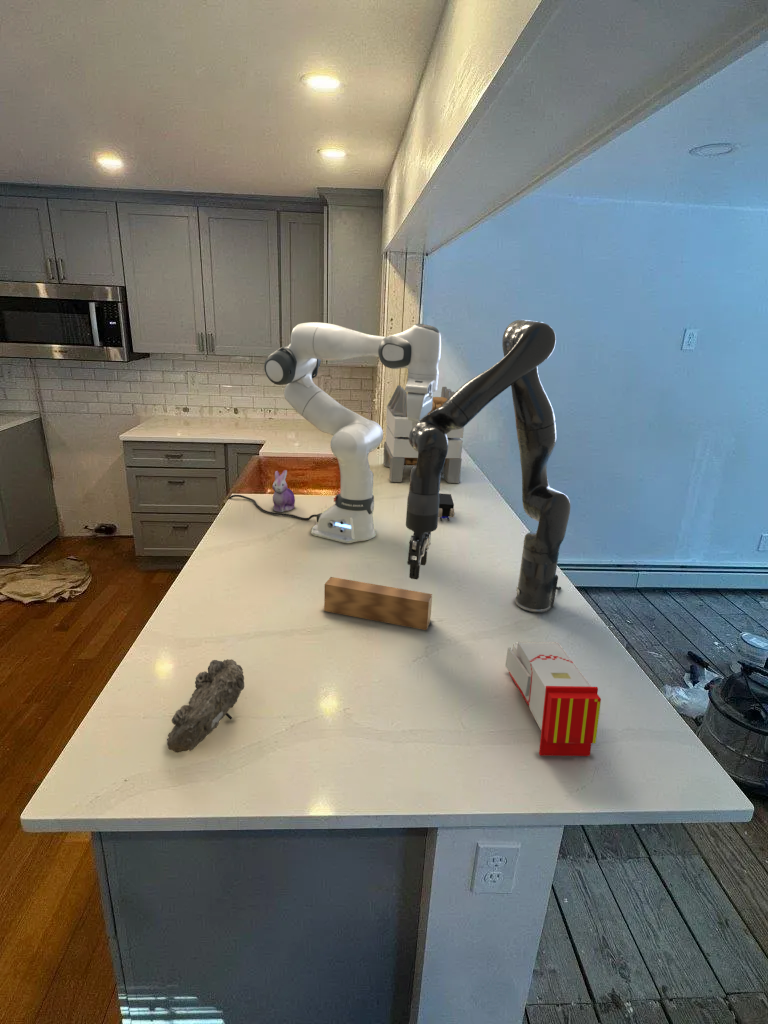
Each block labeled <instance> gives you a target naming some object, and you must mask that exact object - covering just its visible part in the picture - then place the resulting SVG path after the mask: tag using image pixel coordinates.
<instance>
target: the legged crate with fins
mask: <svg viewBox="0 0 768 1024" xmlns="http://www.w3.org/2000/svg"><path fill="white" fill-rule="evenodd" d="M455 392H456V391H453V390H452V389H451V388H447V386H442V387H441V392H440V393H441V394H440V396H433V403H432V410H431V411H430V412H429V413H431V412H432V411H434V410H436V409H437V408H439V407H440V406H442V405H443V404H444V403H445V402H446V401H447V400H448V399H449V398H450V397H451V396H452V395H453V394H454V393H455ZM407 393H408V392H405V389H404V388H403V387H402V385H399V384H398V385H397V386H396V388H395V390H394V392H393V394H392V395H391V398H390V400H389V402H388V404H387V405H386V413H385V414H386V415H385V423H386V428H385V438H384V442H383V466H384V467H388V468H389V475H388V476H389V477H388V478H389V480H390V482H391V483H402V482H403V475H404V469H405V466H406V467H407V466H411V467H413V466H415V465H417V459H418V452H417V451H416V450H414V449H413V448H412V447H411V445H410V443H409V434H410V432H411V430H412V423H411V422H412V420H408V419H407ZM429 413H428V414H429ZM428 414H427V415H428ZM464 429H465V426H464V427H463V428H461V429H457V430H452V431H450V432H449V433H447V434H446V436H447V439H448V452H447V456H446V459H445V463H444V466H443V469H442V472H441V475H443V478H444V479H445V481H446V482H447V483H449V484H455V483H456V484H459V483H461V472H462V461H463V460H462V453H463V442H464V441H463V440H462V439H463V438H464V431H465V430H464Z"/></svg>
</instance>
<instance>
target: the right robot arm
mask: <svg viewBox="0 0 768 1024" xmlns="http://www.w3.org/2000/svg"><path fill="white" fill-rule="evenodd" d="M501 343H502V353H503V358H501V359H500V360H499V361H497V363H495V364H494V365H493V366H491V367H489V368H488V369H486V370H484V371H483V372H481V373H479V374H477V375H476V376H474V377H473V378H471V379H469V380H468V381H466V382H465V383H463V385H461V386H460V387H459V388H458V389H457V390H456V391H454V392H455V393H454V394H453V395H452V396H451V397H450V398H449V399H448V400H447V401H446V402H445V403H444V404H443V405H442V406H440V407H439V408H437V409H436V410H434V411H432V412H431V413H429V414H428V415H426V416H425V417H424V418H422V419H421V420H420V421H418V422H417V423H416V424H415V425H414V427H413V428H412V430H411V432H410V434H409V443H410V445H411V447H412V448H413V449H414V450H416V451H417V452H418V459H417V465H415V466H412V467H411V470H410V474H409V487H408V494H407V499H406V500H407V501H406V514H405V526H406V528H407V529H408V530H409V531H412V533H413V534H412V535H411V536H410V540H409V541H408V553H407V561H406V563H407V565H409V575H408V578H410V579H411V580H419V578H420V568H421V566H426V565H427V561H428V552H429V549H430V545H431V539H432V537H431V536H432V532H434V531H436V530H437V529H438V526H439V525H438V523H439V517H438V514H439V501H440V500H439V493H440V487H441V475H442V474H441V472H442V469H443V466H444V463H445V459H446V456H447V452H448V439H447V436H446V434H447V433H449V432H450V431H452V430H457V429H461V428H463V427H464V428H465V426H467V425H468V424H469V423H470V422H471V421H472V420H473V419H474V418H475V417H476V416H477V415H478V414H479V413H480V412H481V411H482V410H483V409H484V408H485V407H486V406H487V405H489V404H490V403H491V402H493V401H494V400H495V398H497V397H498V396H499V395H500V394H502V393H503V392H504V391H506V389H508V388H509V387H510V389H511V396H512V404H513V410H514V419H515V421H514V422H515V429H516V438H517V444H518V450H519V457H520V458H519V461H520V468H521V496H522V497H521V499H522V508H523V510H524V512H525V514H526V515H527V516H528V517H529V518H531V519H533V520H535V522H538V524H537V528H536V530H534V531H530V532H527V533H526V534H525V535H524V539H523V547H522V553H521V562H520V569H519V574H518V582H517V586H516V587H515V591H516V597H515V601H514V603H515V604H516V606H517V607H518V608H519V609H521V610H523V611H527V612H529V613H546V612H548V611H550V609H552V608H554V605H555V599H556V593H557V591H560V590H562V586H558V580H559V575H558V574H557V568H558V561H559V554H560V550H561V549H560V548H561V544H563V542H564V539H565V536H566V533H567V528H568V523H569V519H570V515H571V501H570V498H569V497H568V495H566V494H565V493H563V492H562V491H559V490H557V489H554V488H552V487H551V486H550V483H549V478H548V470H547V469H548V463H549V460H550V457H552V453H553V452H554V449H555V447H556V444H557V425H556V417H555V416H556V415H555V412H554V408H553V406H552V403H551V401H550V399H549V397H548V395H547V392H546V391H545V389H544V386H543V384H542V382H541V379H540V375H539V370H538V367H539V366H540V365H541V364H543V363H544V362H545V361H546V360H548V359H549V358H550V356H551V355H552V354H553V352H554V351H555V347H556V343H557V336H556V332H555V330H554V328H553V327H552V326H551V325H549V324H547V323H546V322H543V321H537V320H528V319H516V320H514V321H512V322H510V323H509V324H508V325H507V327H506V328H505V330H504V332H503V335H502V342H501ZM414 557H416V558H415V559H414Z"/></svg>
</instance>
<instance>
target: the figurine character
mask: <svg viewBox="0 0 768 1024" xmlns="http://www.w3.org/2000/svg"><path fill="white" fill-rule="evenodd" d="M439 500H440V501H439V514H438V518H439V520H440V522H443V519H444V520H445V519H446V520H447V522H450V521H451V519H450V518H454V517H455V504H454V500H453V496H452V493H451V494H450V493H440V492H439Z"/></svg>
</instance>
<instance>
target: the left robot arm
mask: <svg viewBox="0 0 768 1024" xmlns="http://www.w3.org/2000/svg"><path fill="white" fill-rule="evenodd" d="M441 351H442V335H441V331H440V330H439V329H438V328H437V327H435V326H434V325H433V326H432V325H429V324H424V323H415V324H413V325H412V326H411V327H410V328H408V329H405V330H403V331H401V332H398V333H395V334H390V335H388V336H386V335H385V336H384V335H376V334H368V333H364V332H361V331H358V330H354V329H351V328H348V327H344V326H341V325H338V324H333V323H328V322H319V321H317V322H316V321H314V322H313V321H312V322H302V323H298V324H297V325H295V326H294V327H293V328H292V331H291V333H290V343H289V344H288V345H286V346H281V347H280V348H278V349H277V350H275V351H273V352H272V353H270V354H269V355H268V356H267V357H266V359H265V361H264V364H263V367H264V368H263V370H264V374H265V376H266V377H267V379H268V380H269V381H270V383H273V385H277V386H285V387H284V391H283V396H284V398H285V400H286V401H287V403H288V404H289V405H290V406H291V407H292V409H294V410H295V411H296V412H297V413H298V414H299V415H300V416H301V417H302V418H304V419H305V420H306V421H307V422H309V424H311V425H312V426H313V427H314V428H316V429H317V430H318V431H320V432H322V433H325V434H328V435H331V436H332V437H331V438H330V450H331V452H332V454H333V456H334V457H336V459H337V463H338V468H339V474H340V475H339V476H340V488H339V489H340V490H339V491H338V492H337V494H336V495H335V496H334V497H333V502H334V504H333V505H331V506H329V507H328V508H326V509H325V510H323V512H320V513H317V514H311V515H309V517H302V516H298V515H295V514H291V513H285V512H276V511H274V512H273V511H269V510H266V509H264V508H262V507H261V506H260V505H258V503H257V501H256V500H255V499H254V498H251V497H248V496H245V495H241V494H232V495H230V496H228V497H227V499H228V500H230V499H233V498H241V499H245V500H248V501H251V502H252V503H254V506H255V507H256V508H258V509H259V511H261V512H263V513H266V514H268V515H274V516H286V517H292V518H294V519H298V520H302V521H310V520H311V519H312V518H316V523H315V524H314V525H313V526H312V528H311V530H310V533H311V536H315V537H319V538H323V539H326V540H330V541H336V542H339V543H343V544H352V543H357V542H365V541H368V540H372V539H373V538H375V537H376V535H377V532H376V528H375V523H374V513H373V512H374V509H375V496H374V473H373V471H372V470H371V467H370V463H369V454H370V453H371V452H374V451H375V450H376V449H377V448H378V447H379V446H380V445H381V443H382V442H383V439H384V430H383V428H382V426H381V425H380V424H379V423H378V422H376V421H374V420H371V419H368V418H366V417H364V416H363V415H361V414H359V413H357V412H355V411H354V410H352V409H349V408H347V407H346V406H344V405H342V404H341V402H340V403H339V402H338V401H337V400H336V399H335V398H333V397H332V396H331V395H329V394H328V393H327V392H325V390H323V389H321V388H320V387H319V386H318V385H317V384H315V382H314V380H313V379H315V378H316V377H317V376H318V372H319V368H320V366H321V363H322V361H329V362H330V361H331V362H332V361H333V362H334V361H342V360H343V361H344V360H349V359H355V358H361V357H377V358H378V359H379V361H380V363H381V364H382V365H383V366H384V367H386V368H388V369H391V370H399V369H407V379H406V380H407V381H406V384H405V389H404V390H405V392H406V393H407V419H408V420H412V422H411V423H412V428H413V427H414V425H415V424H416V423H417V422H418V421H420V420H421V419H422V418H424V417H425V416H426V415H427V414H428V413H429V412H430V411H431V410H432V403H433V397H434V392H437V391H438V388H439V387H438V386H439V376H440V375H439V374H440V372H439V364H440V361H441V355H442V354H441Z"/></svg>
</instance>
